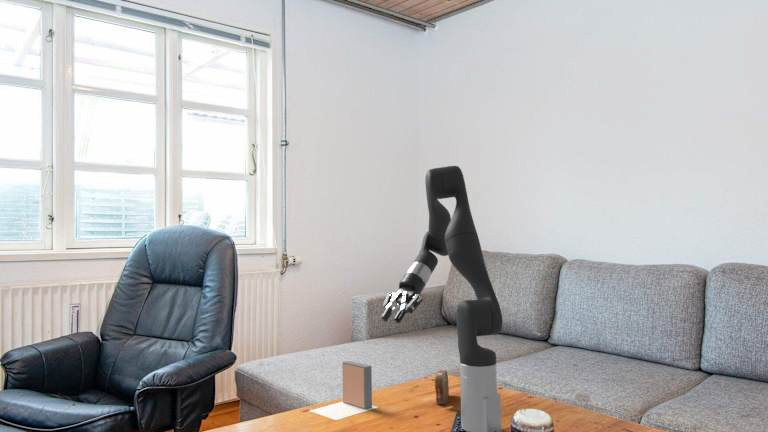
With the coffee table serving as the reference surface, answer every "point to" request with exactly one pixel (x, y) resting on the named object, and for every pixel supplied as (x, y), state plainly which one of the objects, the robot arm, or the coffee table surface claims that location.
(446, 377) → the tin
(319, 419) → the coffee table surface
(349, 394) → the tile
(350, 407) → the mat
